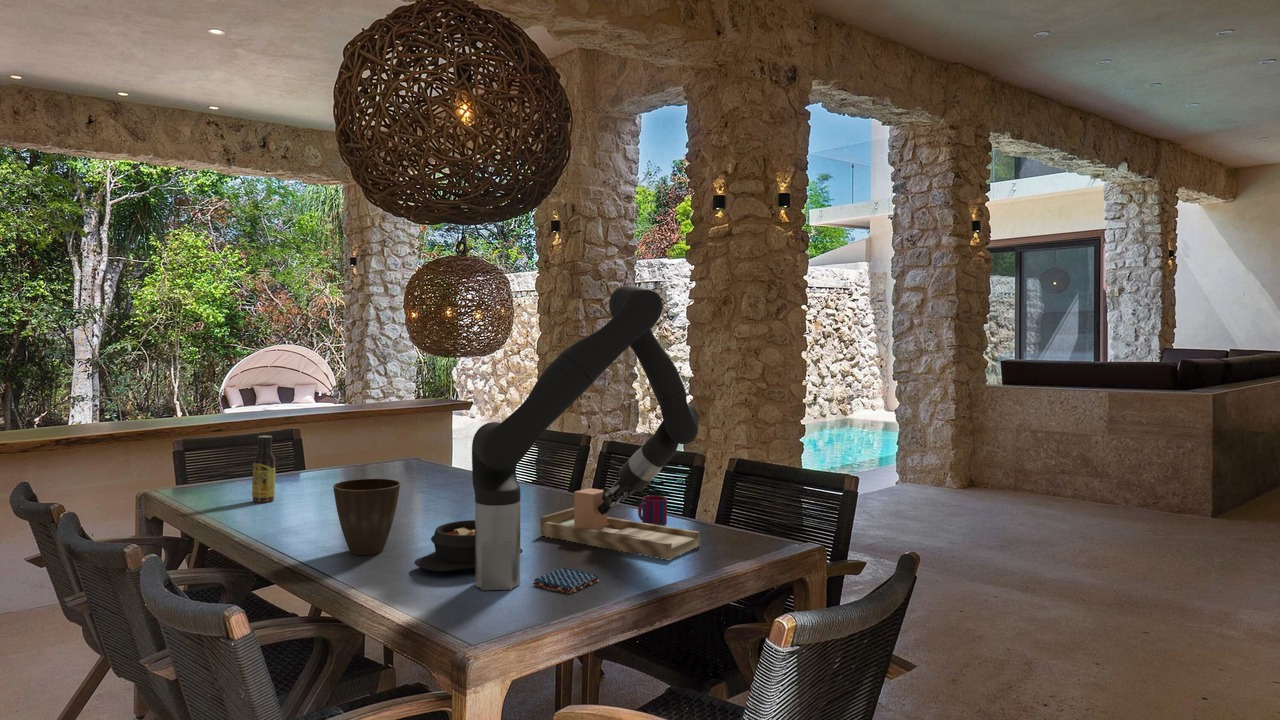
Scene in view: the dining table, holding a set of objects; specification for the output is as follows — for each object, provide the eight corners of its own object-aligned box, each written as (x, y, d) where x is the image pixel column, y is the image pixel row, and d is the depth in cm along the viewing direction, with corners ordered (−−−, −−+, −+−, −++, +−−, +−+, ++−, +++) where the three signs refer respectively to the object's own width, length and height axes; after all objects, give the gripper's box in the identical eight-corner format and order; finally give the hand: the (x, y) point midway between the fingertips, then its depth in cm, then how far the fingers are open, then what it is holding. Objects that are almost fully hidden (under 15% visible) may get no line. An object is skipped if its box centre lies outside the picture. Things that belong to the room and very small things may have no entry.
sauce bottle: (247, 502, 246) (246, 436, 246) (262, 498, 252) (262, 434, 252) (265, 504, 244) (264, 437, 244) (280, 500, 250) (279, 435, 250)
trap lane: (699, 546, 200) (699, 526, 199) (668, 560, 188) (668, 538, 187) (575, 525, 221) (575, 506, 220) (540, 536, 209) (540, 516, 208)
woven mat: (529, 588, 168) (529, 578, 168) (561, 575, 177) (562, 566, 177) (570, 597, 163) (570, 587, 163) (601, 584, 172) (601, 574, 172)
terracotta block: (607, 525, 210) (607, 490, 210) (593, 530, 205) (593, 494, 205) (588, 522, 213) (588, 488, 213) (574, 526, 208) (574, 491, 208)
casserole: (444, 586, 168) (444, 545, 168) (397, 567, 181) (397, 529, 181) (540, 561, 186) (540, 525, 186) (491, 546, 199) (491, 512, 199)
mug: (671, 522, 224) (672, 498, 224) (645, 528, 217) (645, 503, 217) (654, 518, 229) (654, 494, 229) (628, 524, 222) (628, 499, 222)
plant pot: (377, 539, 204) (377, 476, 204) (413, 550, 195) (413, 483, 194) (321, 552, 193) (320, 484, 192) (356, 564, 183) (356, 492, 183)
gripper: (647, 452, 206) (608, 495, 214) (617, 459, 195) (576, 504, 203) (665, 476, 204) (624, 518, 211) (635, 484, 193) (593, 528, 200)
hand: (601, 511), depth 207 cm, fingers closed
